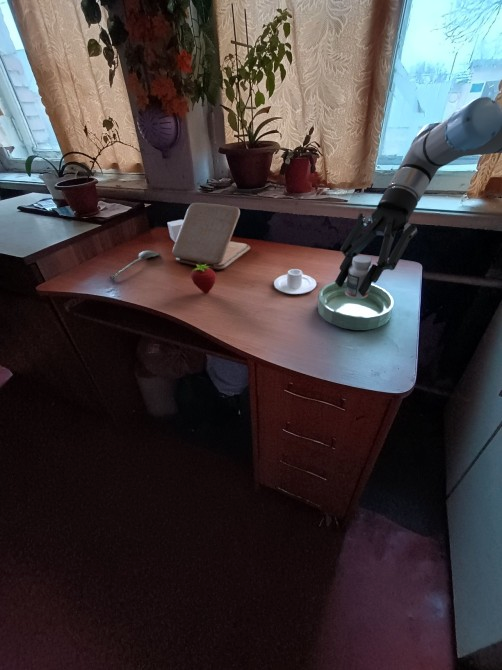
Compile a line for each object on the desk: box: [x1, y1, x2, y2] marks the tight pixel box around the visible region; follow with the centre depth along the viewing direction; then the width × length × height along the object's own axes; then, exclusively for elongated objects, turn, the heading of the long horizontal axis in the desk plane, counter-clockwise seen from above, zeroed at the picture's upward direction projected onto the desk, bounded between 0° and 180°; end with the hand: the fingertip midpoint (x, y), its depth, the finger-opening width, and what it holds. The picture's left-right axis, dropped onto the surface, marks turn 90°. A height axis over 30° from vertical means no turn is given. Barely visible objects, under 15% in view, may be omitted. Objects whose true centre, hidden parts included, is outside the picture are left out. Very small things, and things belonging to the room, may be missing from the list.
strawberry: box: [190, 264, 217, 295], centre depth 85 cm, size 6×8×10 cm
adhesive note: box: [167, 219, 184, 243], centre depth 122 cm, size 6×6×6 cm
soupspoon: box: [109, 249, 160, 282], centre depth 104 cm, size 22×3×7 cm
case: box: [171, 202, 251, 271], centre depth 104 cm, size 20×21×16 cm
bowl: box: [316, 280, 395, 331], centre depth 76 cm, size 17×17×4 cm
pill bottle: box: [345, 254, 373, 299], centre depth 71 cm, size 5×5×9 cm
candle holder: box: [273, 268, 317, 295], centre depth 88 cm, size 12×12×4 cm
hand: (349, 288), depth 70 cm, fingers closed on pill bottle, 5 cm apart
